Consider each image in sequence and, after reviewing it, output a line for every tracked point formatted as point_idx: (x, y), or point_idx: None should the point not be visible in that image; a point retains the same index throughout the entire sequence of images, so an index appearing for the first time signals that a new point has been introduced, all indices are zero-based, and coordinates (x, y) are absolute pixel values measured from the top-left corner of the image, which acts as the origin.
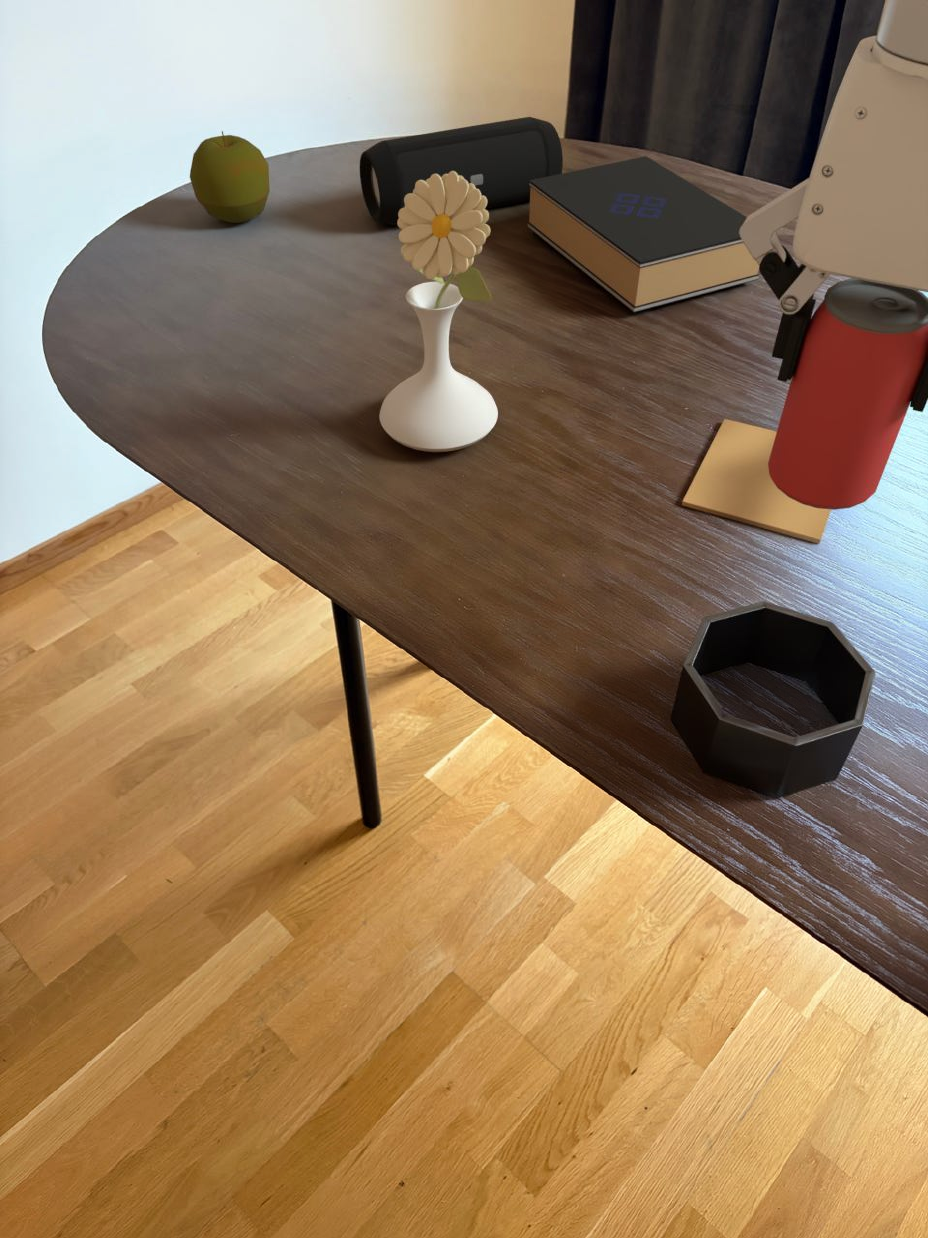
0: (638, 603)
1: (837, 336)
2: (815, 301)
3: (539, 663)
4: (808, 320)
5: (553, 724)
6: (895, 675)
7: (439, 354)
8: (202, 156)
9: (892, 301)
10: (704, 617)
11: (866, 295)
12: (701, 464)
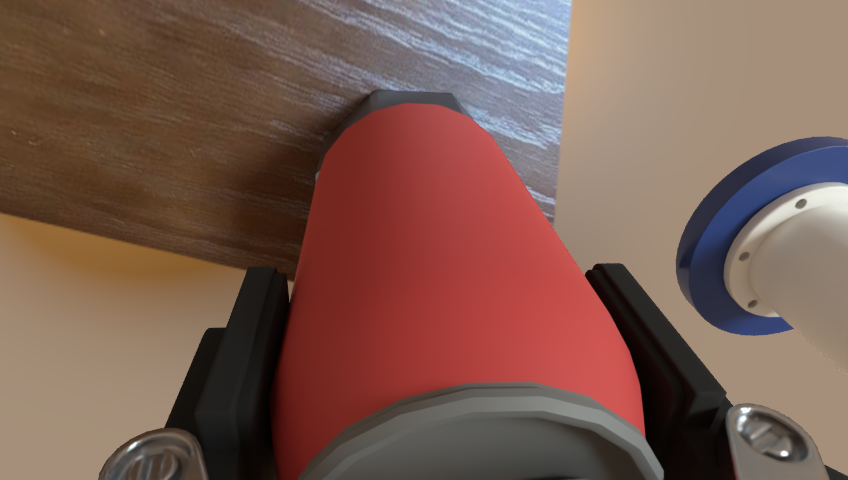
0: (222, 47)
1: None
2: (253, 413)
3: (167, 188)
4: (268, 460)
5: (224, 250)
6: (543, 49)
7: None
8: None
9: (524, 475)
10: (316, 173)
11: (429, 474)
12: None
